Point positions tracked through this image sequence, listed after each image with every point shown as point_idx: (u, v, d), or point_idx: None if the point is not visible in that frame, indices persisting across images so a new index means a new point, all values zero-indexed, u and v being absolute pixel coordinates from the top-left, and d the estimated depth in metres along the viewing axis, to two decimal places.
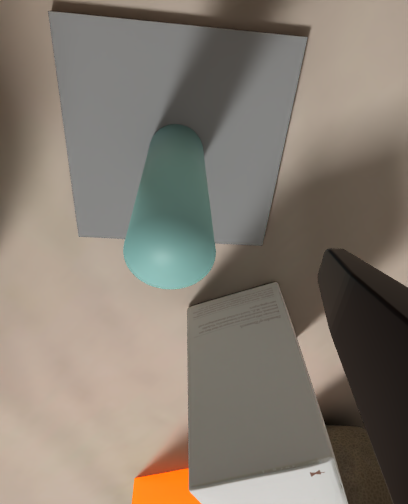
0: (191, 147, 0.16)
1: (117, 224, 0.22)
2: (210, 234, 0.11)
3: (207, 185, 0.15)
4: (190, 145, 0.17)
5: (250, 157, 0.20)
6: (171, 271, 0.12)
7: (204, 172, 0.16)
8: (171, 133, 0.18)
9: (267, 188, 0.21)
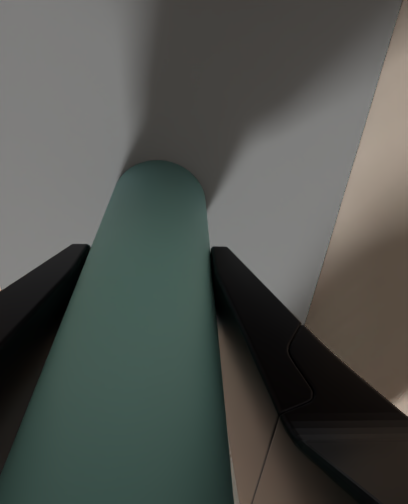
0: (180, 217, 0.08)
1: None
2: None
3: (215, 311, 0.07)
4: (178, 211, 0.08)
5: (286, 208, 0.12)
6: None
7: (207, 276, 0.07)
8: (144, 183, 0.09)
9: (314, 254, 0.13)
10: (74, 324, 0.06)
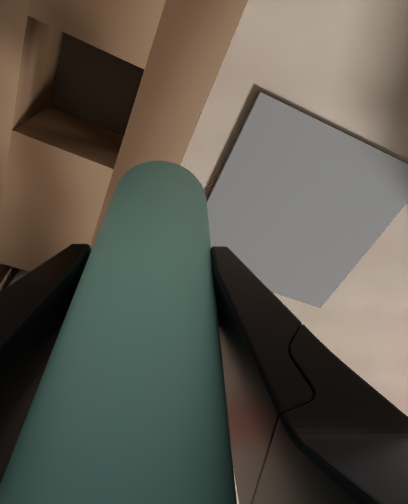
0: (181, 218, 0.08)
1: (327, 280, 0.26)
2: None
3: (216, 311, 0.07)
4: (180, 212, 0.08)
5: (333, 164, 0.21)
6: None
7: (209, 277, 0.07)
8: (145, 184, 0.09)
9: (372, 155, 0.21)
10: (76, 325, 0.06)
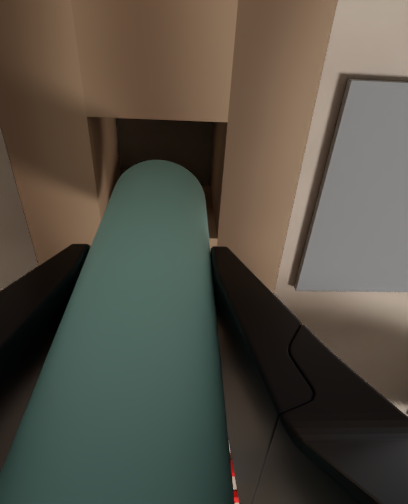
0: (180, 217, 0.08)
1: None
2: None
3: (215, 311, 0.07)
4: (178, 210, 0.08)
5: None
6: None
7: (208, 276, 0.07)
8: (143, 183, 0.09)
9: None
10: (73, 325, 0.05)
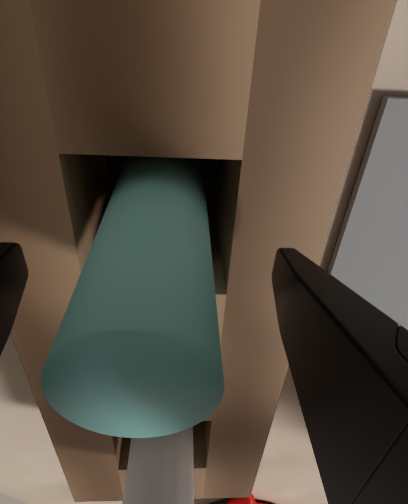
0: (182, 165, 0.11)
1: None
2: (212, 356, 0.06)
3: (208, 226, 0.10)
4: (181, 161, 0.11)
5: None
6: (141, 415, 0.06)
7: (203, 204, 0.10)
8: None
9: None
10: (111, 220, 0.08)
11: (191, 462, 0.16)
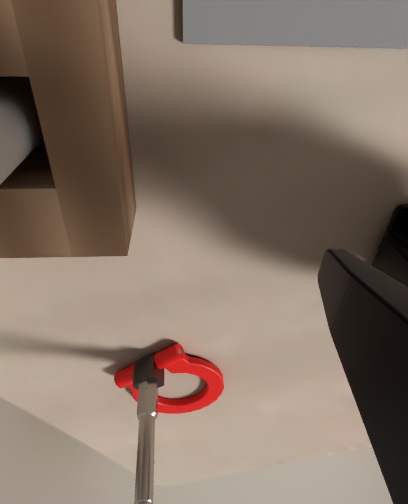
0: None
1: None
2: None
3: None
4: None
5: None
6: None
7: None
8: None
9: None
10: None
11: (8, 131, 0.13)
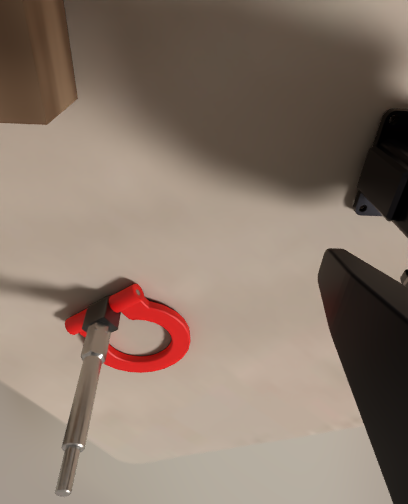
0: None
1: None
2: None
3: None
4: None
5: None
6: None
7: None
8: None
9: None
10: None
11: None
